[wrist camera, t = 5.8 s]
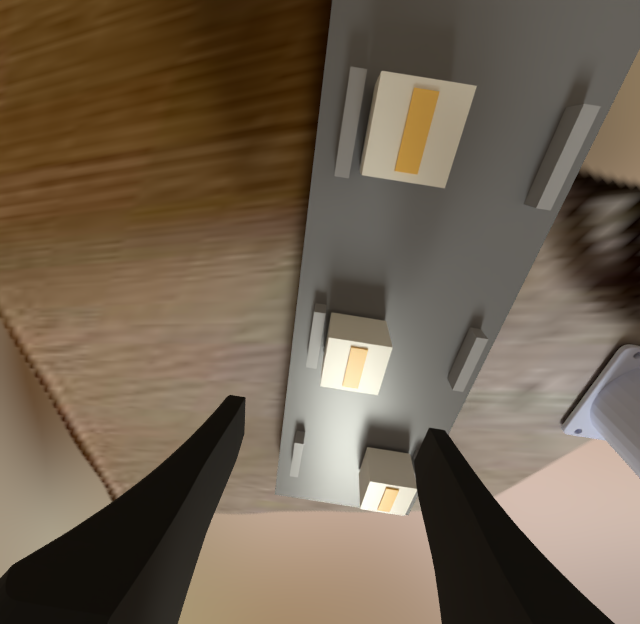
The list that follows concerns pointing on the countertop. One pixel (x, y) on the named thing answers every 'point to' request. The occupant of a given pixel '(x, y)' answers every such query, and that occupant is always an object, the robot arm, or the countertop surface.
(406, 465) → the switch
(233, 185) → the countertop surface
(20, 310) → the countertop surface
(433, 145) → the switch
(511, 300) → the power strip
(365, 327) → the switch mid
